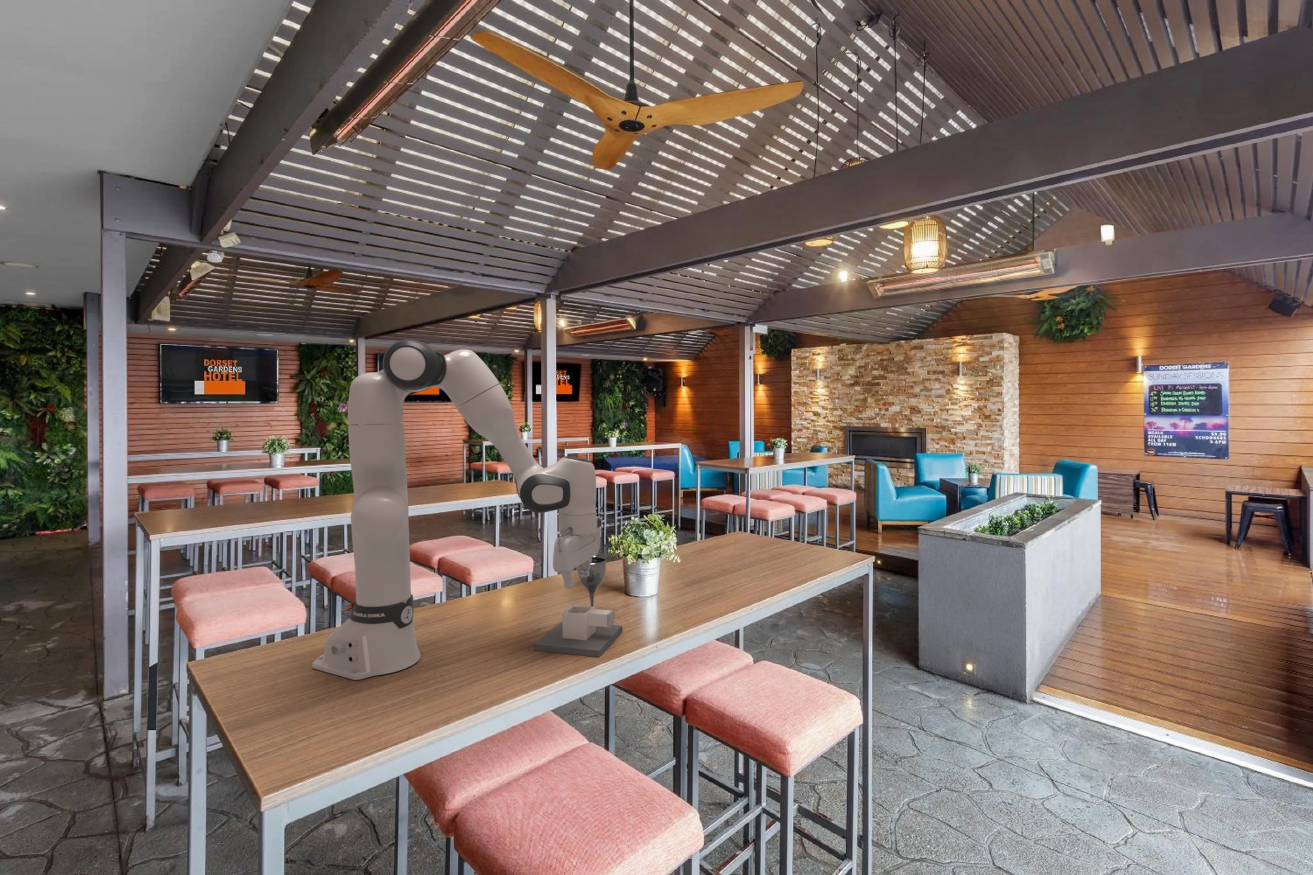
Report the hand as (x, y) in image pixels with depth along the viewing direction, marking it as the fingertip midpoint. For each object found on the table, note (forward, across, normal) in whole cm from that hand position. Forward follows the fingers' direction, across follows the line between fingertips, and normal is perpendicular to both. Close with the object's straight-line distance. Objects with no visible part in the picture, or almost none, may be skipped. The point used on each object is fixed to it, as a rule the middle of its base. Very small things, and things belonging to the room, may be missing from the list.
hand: (577, 581), depth 144 cm
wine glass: (+14, +18, +3) cm, 24 cm away
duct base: (+14, 0, -1) cm, 14 cm away
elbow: (+13, 0, -3) cm, 13 cm away
